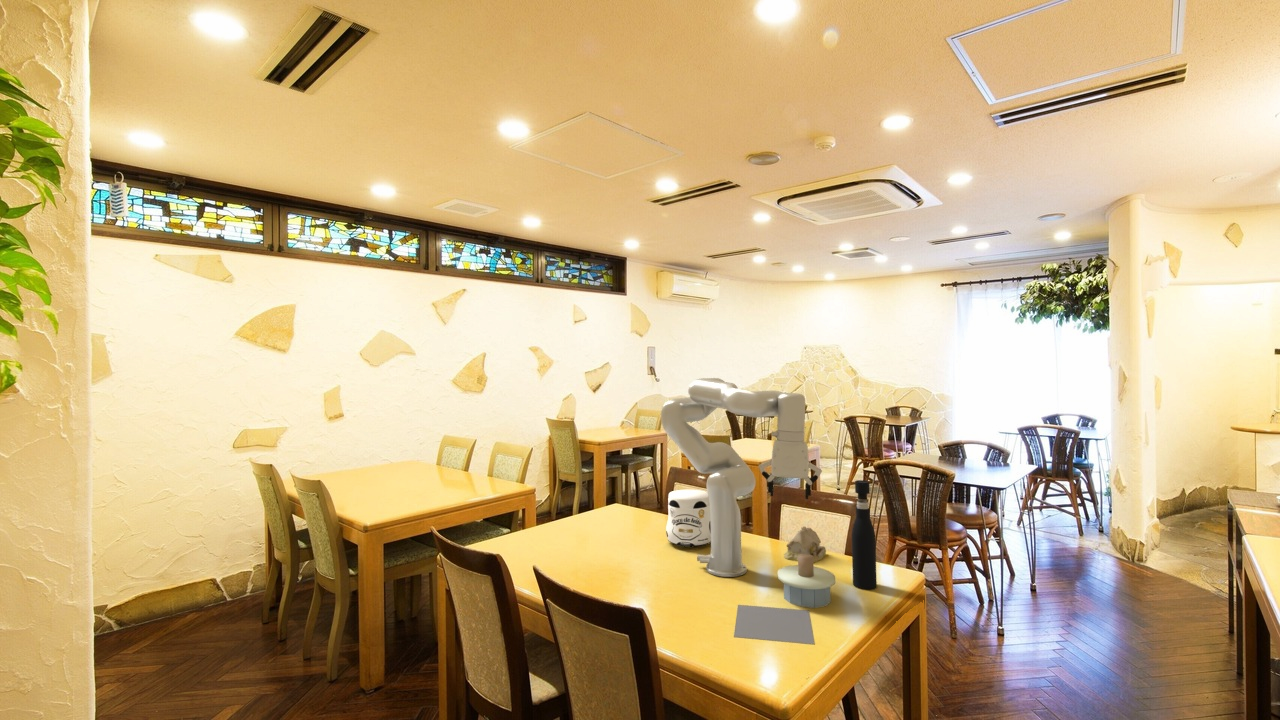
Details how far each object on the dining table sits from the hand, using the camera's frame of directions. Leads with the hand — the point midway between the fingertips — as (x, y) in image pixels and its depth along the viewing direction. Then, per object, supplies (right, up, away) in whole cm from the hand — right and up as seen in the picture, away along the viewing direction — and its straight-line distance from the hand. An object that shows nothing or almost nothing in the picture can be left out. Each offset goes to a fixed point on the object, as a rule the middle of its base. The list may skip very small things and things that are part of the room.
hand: (789, 496), depth 156 cm
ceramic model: (+13, -28, +28) cm, 42 cm away
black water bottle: (+23, -27, +2) cm, 35 cm away
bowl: (+3, -27, -7) cm, 28 cm away
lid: (+3, -21, -7) cm, 22 cm away
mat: (-10, -26, -22) cm, 36 cm away
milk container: (-24, -28, +44) cm, 58 cm away
